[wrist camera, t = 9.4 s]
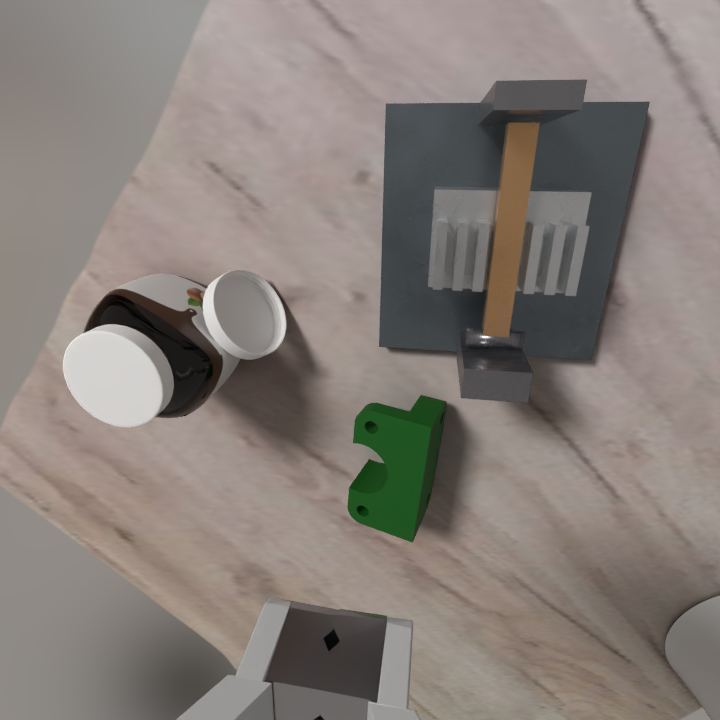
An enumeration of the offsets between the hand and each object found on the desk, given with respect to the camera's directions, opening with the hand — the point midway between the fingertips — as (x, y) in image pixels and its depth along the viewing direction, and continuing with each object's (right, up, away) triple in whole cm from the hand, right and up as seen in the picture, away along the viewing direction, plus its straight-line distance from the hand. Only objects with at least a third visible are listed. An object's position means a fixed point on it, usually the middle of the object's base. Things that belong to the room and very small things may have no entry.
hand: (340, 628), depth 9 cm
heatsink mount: (+10, +14, +24) cm, 30 cm away
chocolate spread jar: (-12, +9, +30) cm, 33 cm away
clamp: (+4, -2, +32) cm, 32 cm away
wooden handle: (+9, +13, +19) cm, 24 cm away
